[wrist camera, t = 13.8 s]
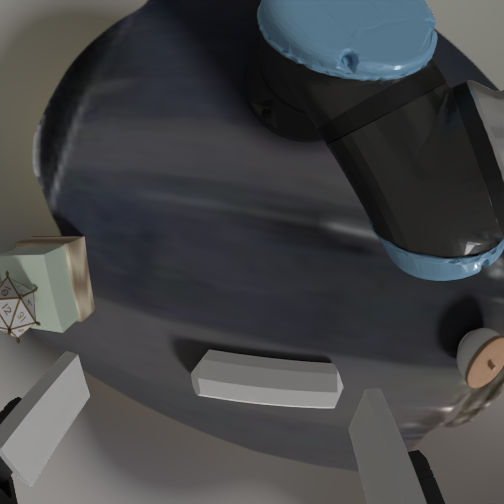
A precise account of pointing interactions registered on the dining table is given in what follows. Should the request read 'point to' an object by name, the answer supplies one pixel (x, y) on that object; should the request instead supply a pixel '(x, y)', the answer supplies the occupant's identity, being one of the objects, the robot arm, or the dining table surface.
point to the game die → (16, 307)
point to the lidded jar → (480, 356)
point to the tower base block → (71, 268)
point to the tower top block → (44, 283)
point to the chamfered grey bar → (267, 380)
